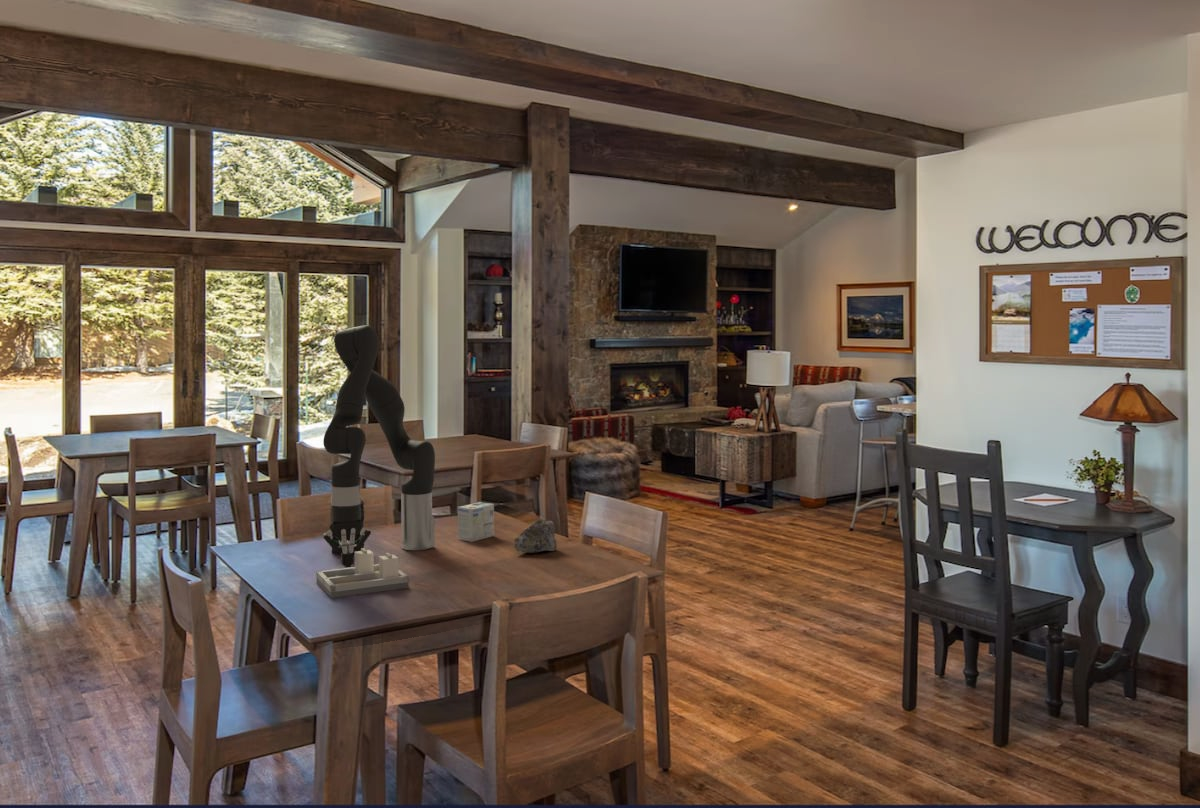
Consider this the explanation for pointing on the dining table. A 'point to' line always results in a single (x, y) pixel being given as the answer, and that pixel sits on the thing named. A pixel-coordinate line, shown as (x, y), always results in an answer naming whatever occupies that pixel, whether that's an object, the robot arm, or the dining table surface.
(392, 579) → the switch bank
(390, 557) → the tab
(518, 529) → the dining table surface
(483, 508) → the light bulb box
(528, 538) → the mineral rock
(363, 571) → the tab
